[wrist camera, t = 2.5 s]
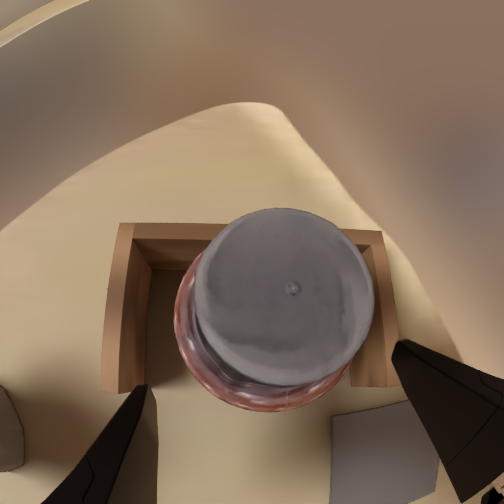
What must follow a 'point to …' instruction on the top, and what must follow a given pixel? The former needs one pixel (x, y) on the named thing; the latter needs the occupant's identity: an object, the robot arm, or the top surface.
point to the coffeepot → (10, 435)
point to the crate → (181, 258)
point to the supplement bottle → (274, 310)
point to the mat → (381, 457)
